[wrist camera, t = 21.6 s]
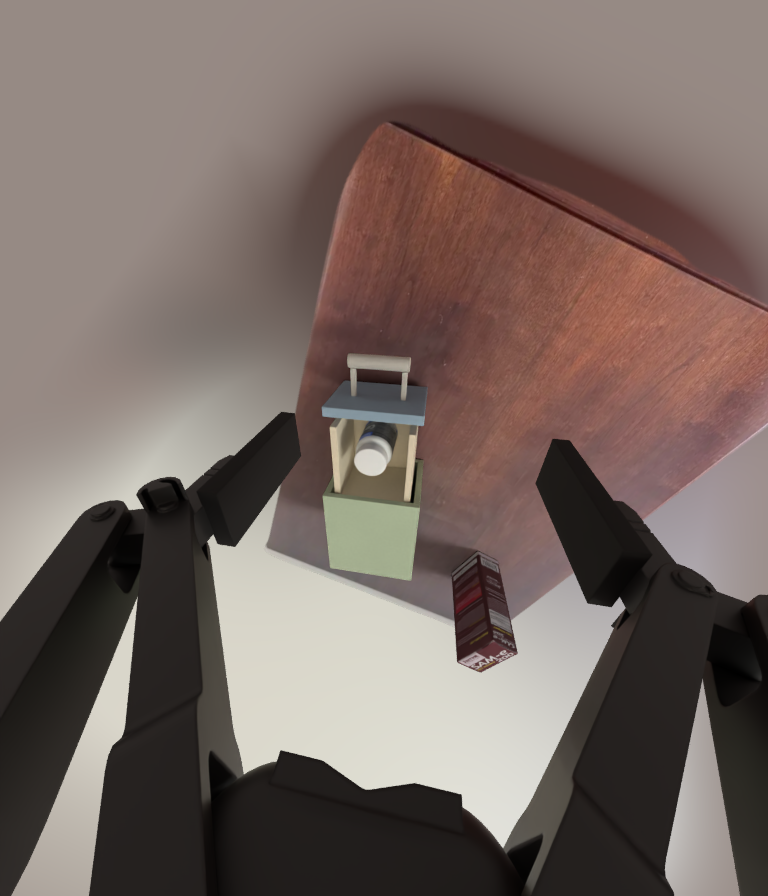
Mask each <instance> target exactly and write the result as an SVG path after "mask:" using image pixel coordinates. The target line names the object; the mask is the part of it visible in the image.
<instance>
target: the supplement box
mask: <svg viewBox="0 0 768 896" xmlns="http://www.w3.org/2000/svg"><path fill="white" fill-rule="evenodd" d="M452 586H453V603H454V618H455V635H456V651H457V662H458V663H460V664H462V665H464V666H466V667H469V668H471V669H473V670H476V671H478V672H482V671H484V670H486V669H488V668H490V667H492V666H494V665H496V664H498V663H500V662H502V661H504V660H506V659H508V658H510V657H512V656H514V655H516V654H517V653H518V652H517V648H516V644H515V640H514V634H513V630H512V625H511V620H510V616H509V611H508V606H507V602H506V597H505V592H504V588H503V583H502V578H501V574H500V569H499V564H498V561H496V560H495V559H493V558H491V557H489V556H487V555H485V554H483V553H481V552H479V551H477V552H476V553H475V554H474V555H473V556H472V557H470V558H469V559H468V560H467V561H466V562H464V563H463V564H462V565H461V566H460V567H459V568H457V569H456V570H455V571H454V572H453V573H452Z"/></svg>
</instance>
